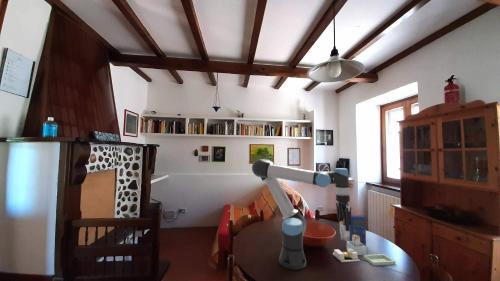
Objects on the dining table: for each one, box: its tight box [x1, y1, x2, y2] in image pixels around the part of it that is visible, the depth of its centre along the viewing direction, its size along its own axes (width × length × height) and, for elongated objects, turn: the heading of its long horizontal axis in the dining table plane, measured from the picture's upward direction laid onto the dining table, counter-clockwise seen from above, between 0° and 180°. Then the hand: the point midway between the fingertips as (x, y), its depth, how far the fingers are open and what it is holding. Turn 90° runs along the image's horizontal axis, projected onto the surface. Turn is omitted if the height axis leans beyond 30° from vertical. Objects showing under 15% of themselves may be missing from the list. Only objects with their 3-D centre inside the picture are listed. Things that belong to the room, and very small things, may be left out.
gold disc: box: [341, 251, 350, 258], centre depth 124 cm, size 4×4×2 cm
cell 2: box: [352, 234, 360, 246], centre depth 131 cm, size 4×4×11 cm
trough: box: [362, 253, 397, 266], centre depth 120 cm, size 14×9×2 cm, turn 97°
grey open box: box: [346, 240, 368, 256], centre depth 131 cm, size 8×8×6 cm
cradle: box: [332, 248, 361, 263], centre depth 124 cm, size 12×10×5 cm
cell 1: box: [339, 220, 350, 242], centre depth 121 cm, size 4×4×11 cm
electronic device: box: [349, 214, 367, 246], centre depth 142 cm, size 10×5×20 cm, turn 89°
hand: (344, 234), depth 120 cm, fingers closed on cell 1, 4 cm apart
